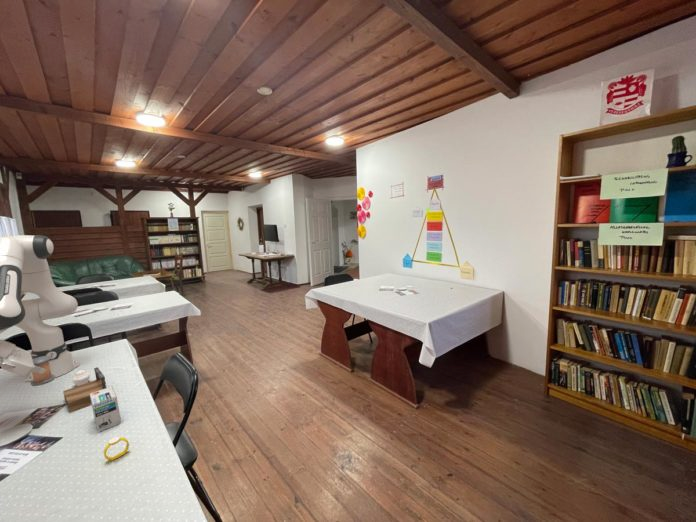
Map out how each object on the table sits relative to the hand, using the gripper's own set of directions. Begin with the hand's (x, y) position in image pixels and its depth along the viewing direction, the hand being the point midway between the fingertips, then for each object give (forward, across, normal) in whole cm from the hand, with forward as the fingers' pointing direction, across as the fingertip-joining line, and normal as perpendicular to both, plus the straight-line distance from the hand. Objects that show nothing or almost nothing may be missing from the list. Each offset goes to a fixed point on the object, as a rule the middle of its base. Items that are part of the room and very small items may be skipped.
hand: (43, 368), depth 110 cm
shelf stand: (+20, 0, +6) cm, 21 cm away
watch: (+20, -50, +6) cm, 54 cm away
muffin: (+21, +17, +5) cm, 27 cm away
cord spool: (+3, 0, +4) cm, 5 cm away
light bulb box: (+22, -26, +4) cm, 34 cm away
